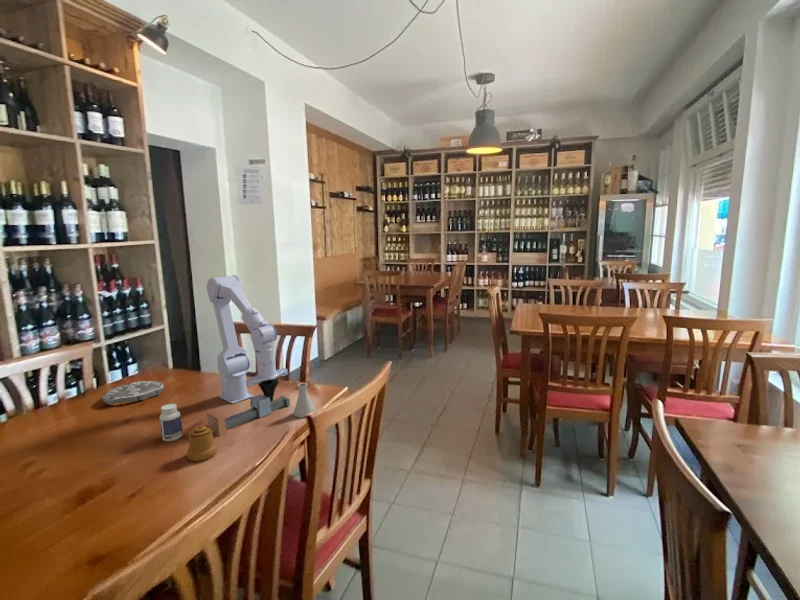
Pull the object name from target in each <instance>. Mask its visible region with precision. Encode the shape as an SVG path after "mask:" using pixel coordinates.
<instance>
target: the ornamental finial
mask: <svg viewBox="0 0 800 600" xmlns="http://www.w3.org/2000/svg"><path fill="white" fill-rule="evenodd" d="M188 446H189V447H188V449H187V451H186V457H187V458H188V459H189V461H192V462H204V461H207V460H209V459H211V458H213V457H214V456H215V455H216V454H217V451H218V445H217V444H216V443H215V441H214V435H213V432H212V430H211V429H209V428H208V426H205V425H199V426H195V428H194V429H192V430H191V431H190V432H189V433H188Z"/></svg>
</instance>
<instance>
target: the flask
mask: <svg viewBox="0 0 800 600" xmlns="http://www.w3.org/2000/svg"><path fill="white" fill-rule="evenodd" d="M307 387H308V383H307V382H300V383H298V384H297V388H298V397H297V401H296V403H295V407H294V411H293V417H296V418H306V417H305V416H306V414H308V413H310V412H313V411H315V412H316V408H315V406H314V404H313V402H312V400H311V397H310V395H309V393H308V392H309V391H308V388H307Z"/></svg>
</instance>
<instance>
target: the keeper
mask: <svg viewBox="0 0 800 600" xmlns="http://www.w3.org/2000/svg"><path fill="white" fill-rule="evenodd" d="M249 399H250V409H252V408H254V407H255V408H257V409H258V416H259V417H258V418H262V417H266V416H268V415H270V414H272V412H271V404H270V398H269V397H266V396H264V394H261V393H260V394H258V395H256V396H253V397H250V398H249Z"/></svg>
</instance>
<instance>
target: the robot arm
mask: <svg viewBox="0 0 800 600" xmlns="http://www.w3.org/2000/svg"><path fill="white" fill-rule="evenodd" d="M205 286H206V292H207V296H208V299H209V302H210V303H212V305H213V310H214V314H215V318H216V322H217V327H218V331H219V335H220V336H219V337H220V341H221V345H222V350H221V351H220V353H219V354H218V355H217V356H216V359H217V370H218V373H219V374H220V375H221V376H220V377H221V378H220V388H221V395H219V398H221V399H222V400H224V401H226V402H228V403H231V404H236V403H239V402H242V401H245V400H247V399H250V398H252V397H254V395H253V394H251V393H249V392H248V388H251V387H253V386H256V385H258V386H259V388H260V389H261V391H262V393H263V395H264V396H266V397H269V398H270V402H271V401H273V399H274V396H275V395H274V394H275V391H276V388H277V386H278V384H279V379H277V378H279V377H282V376H288V374H289V373H288V371H289V370H288V368H279V369H277V367H276V355H275V352H276V351H275V341H276V340H277V338H278V331H277V329H276V327H275V325H273V324H272V323H270V322H268V321H266V319H265V318H264V316H263V315H262V314H261V313H260V312H259V310H258V309H257V308H255V307H252V305H251V303H250V302H249V300H248V299H247V297H246V295H245V293H244V291H243V282H242V281H241V278H240V277H239V276H238V275H236V274H233V275H227V276H219V277H217V276H216V277H210V278H209V279H208V280H207V282H206V285H205ZM231 301H232V303H233V304H234V305H235V306H236V308H237V309H238V310H239V312H241V320H242V321H243V322H244V324H245V326H246V327H247V329H248V330H249V332H250V333H251V335H250V340H251V342H252V345H253V348H254V350H255V355H256V356H255V357H256V365H257V367H256V368H257V374H256V375H255V376H252V377H251V378H249V379H247V373H248V370H250V367H251V359H250V357H249V355H248V353H247V349H246V348H243V347H241V346H240V345H239V343H238V338H237V333H236V327H235V324H234V320H233V316H232V315H233V314H232V311H231V307H230V302H231Z"/></svg>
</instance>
